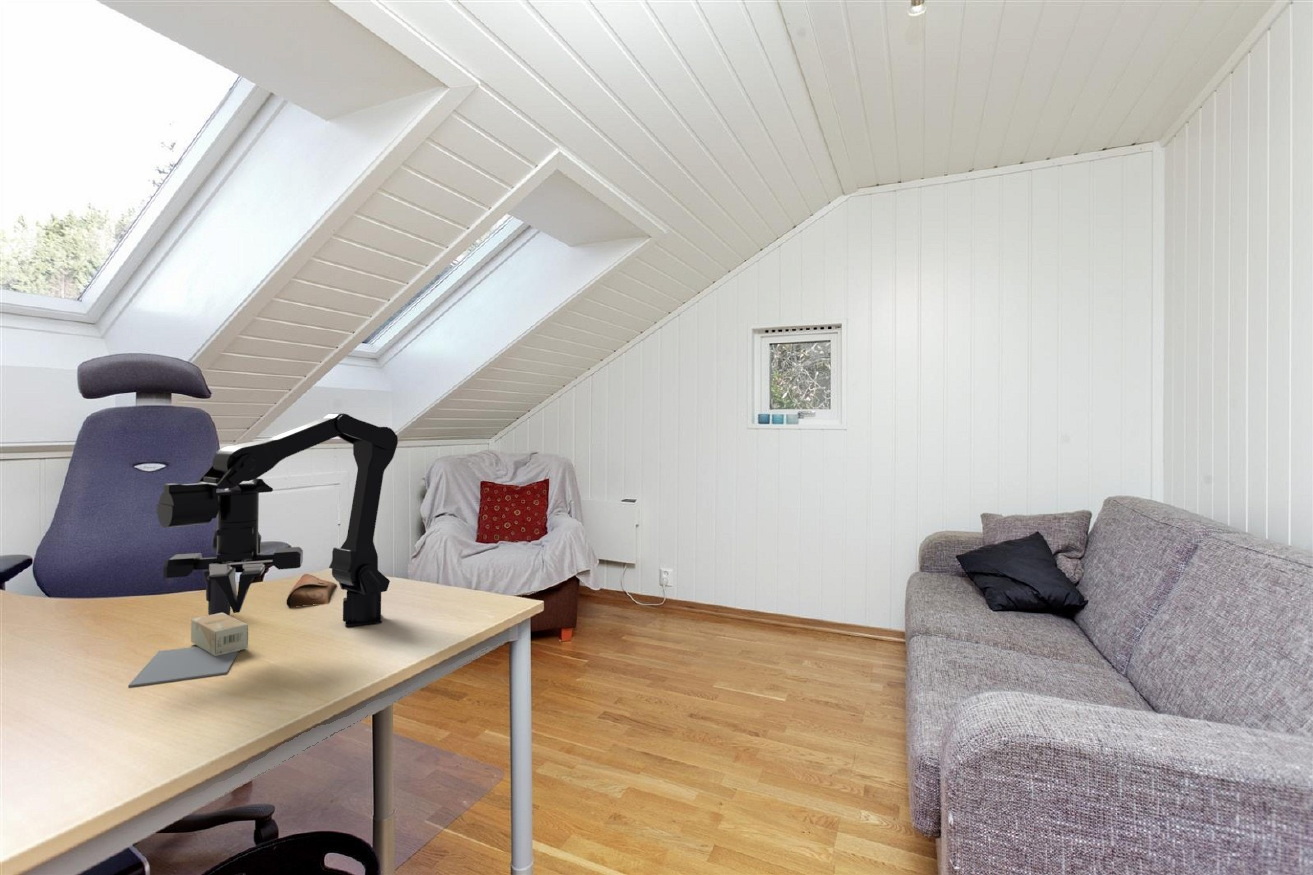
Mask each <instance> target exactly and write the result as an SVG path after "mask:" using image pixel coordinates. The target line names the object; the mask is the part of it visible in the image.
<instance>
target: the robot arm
mask: <svg viewBox="0 0 1313 875" xmlns="http://www.w3.org/2000/svg"><path fill="white" fill-rule="evenodd" d="M337 437H338V438H339V439H340V440H342V441H344V442H347V443H349V444H351V445H352V451H353V457H354V458H353V459H354V461H355V463H356V467H357V473H356V479H355V485H354V491H353V497H352V503H351V505H352V506H351V510H350V516H349V522H348V530H347V533H346V534H347V535H346V539H345V541H344V542H343V544H342V545H341V546H340V547H333V548H332V551H331V552H332V553H331V554H332V555H331V556H332V558H331V562H330V564H329V567H328V569H331V575H332V578H334V580H335V581H336V582H338V583H339V587H340V589H341V590H342V591H346V597H343V599H342V600H343V601H342V621H343V622H345V626H344V627H355V626H356V627H357V626H365V625H373V624H380V623H382V622H383V619H382V618H383V617H382V593H385V592H387V591H388V588H389V586H390V582H391V581H390V579H389V578H387V577H386V575H384V574H383V573H382V572H381V571H380V570H379V555H378V552H377V548H376V545H375V542H374V538H375V531H376V524H377V517H378V511H379V506H380V499H381V498H380V497H381V492H382V486H383V480H384V473H385V470H387V468H388V466H389V465H390V464H391V462H392V461H393V459H394V457H395V454H396V453H395V452H396V451H397V448H398V444H399V437H398V435H397V434H396V432H395V431H394V430H393V428H391V427H387V426H377V425H375V424H372V423H369V422H366V421H363V420H361V419H357V418H355V417H353V416H351V415H350V414H347V413H341V412H340V413H334V412H333V413H329V414H327V415H326V416H324V417H323V418H320V419H317V420H314V421H312V422H309V423H306V424H304V425H301V426H298V427H296V428H294V429H290V430H289V431H285V432H282V433H280V434H278V435H275V436H273V437H269V438H266V439H262V440H255V441H248V442H243V443H238V444H233V445H229V446H228V445H227V446H224V447H222V448H220V449H218V450H217V451H216V452H215V453H214V456H213V459H212V463H211V465H210V467H209V468H208V469H207V470H206V471H205V472H204V473H203V475H202V476H201V477H200V478H199V479H198V480H197V481H196V483H184V484H183V483H181V484H180V483H173V482H172V483H165V484H164V485H163V492H162V493H161V495H160V497H159V501H158V503H157V505H156V514H157V518H158V519H157V520H158V522H159V524H160V525H161V527H162V528H164V529H168V528H176V527H177V528H178V527H187V526H196V525H198V526H199V525H208V524H209V523H211V522H212V520H213V519H216V520H217V523H216V524H217V526H216V530H214V534H213V537H212V549H214V550H215V551H216V556H215V557H211V556H210V557H203V555H202V553H201V552H197V553H196V552H194V553H193V552H192V553H179V554H178V553H177V554H175V555H173V556H172V557H170V558H168V560H166V561H165V562H164V564H163V578H164V579H172V578H173V579H174V578H186V577H188V576H190V574H192V573H193V572H194V571H198V570H208V572H209V571H210V575H209V576H208V580H215V581H216V582H217V584H218V585H219V586H220V588H221V589H222V591H223V592H224V594H225V596H226V598H227V600H228V602H229V604H230V608H231V610H232V612H233V614H238V613H240V612H241V610H242V608H243V605H244V603H245V602H244V601H245V599H246V597H247V594H248V592H249V588H250V586H251V585H252V582H253V581H254V579H255V577H259V576H262V574H263V573H264V571H265V569H266V566H268V565H269V566H270V565H273V567H275V568H276V569H278V570H291V569H299V568H301V567H302V564H303V562H304V561H303V560H304V550H303V549H302V547H300V546H290V547H277V548H276V550H275V551H274V553H261V552H262V535H261V533H260V532H259V517H260V516H259V514H260V513H259V508H260V507H259V506H260V505H259V504H260V502H259V501H260V493H271V492H273V491H274V489H273V487H272V486H270V485H269V484H267V483H266V482H265V481H264V479H263V478H260V477H261V476H262V475H264V474H266V473H268V472H270V471H271V470H272V469H273V468H275V467H276V466H277V465H278V464H279V463H280V462H281V461H283V460H285V459H286V458H288V457H290V456H294V455H296V454H298V453H301V452H303V451H306V450H308V449H311V448H313V447H314V446H317V445H320V444H322V443H324V442H327V441H329V440H331V439H333V438H334V439H335V438H337ZM250 481H251V482H250ZM243 482H249V483H243ZM223 562H224V563H223ZM238 567H239V568H240V567H241V568H242V569H243V570H242V572H240V574H239V579H238V587H237V582H236V568H238Z"/></svg>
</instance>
